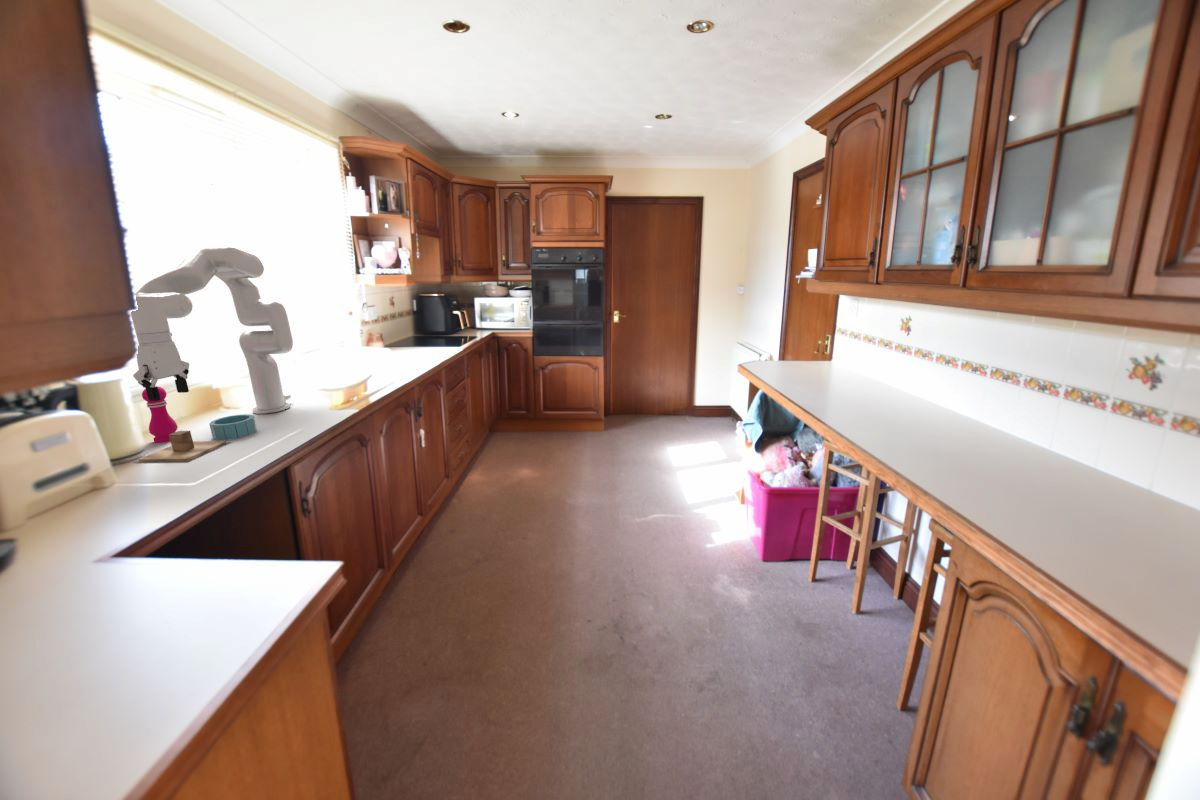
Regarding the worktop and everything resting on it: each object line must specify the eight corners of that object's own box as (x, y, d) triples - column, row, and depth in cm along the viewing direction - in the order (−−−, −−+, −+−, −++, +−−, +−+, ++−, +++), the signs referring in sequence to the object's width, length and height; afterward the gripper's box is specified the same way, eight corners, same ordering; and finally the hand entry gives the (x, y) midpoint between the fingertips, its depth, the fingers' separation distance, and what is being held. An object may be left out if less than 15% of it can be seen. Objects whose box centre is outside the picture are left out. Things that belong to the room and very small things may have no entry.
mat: (182, 444, 167) (181, 442, 167) (232, 443, 166) (231, 442, 166) (133, 464, 150) (132, 463, 150) (188, 464, 149) (187, 462, 149)
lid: (182, 444, 166) (177, 425, 164) (226, 443, 165) (222, 424, 163) (139, 461, 151) (133, 441, 150) (187, 461, 150) (182, 440, 149)
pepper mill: (156, 446, 166) (139, 385, 161) (149, 442, 170) (133, 383, 165) (183, 439, 171) (168, 381, 166) (176, 436, 176) (161, 378, 170)
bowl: (232, 429, 180) (228, 414, 179) (264, 429, 180) (261, 414, 178) (204, 441, 169) (200, 425, 167) (239, 441, 168) (235, 425, 167)
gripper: (168, 334, 157) (182, 389, 162) (113, 343, 141) (130, 404, 145) (191, 334, 157) (204, 389, 161) (139, 342, 140) (155, 403, 145)
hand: (169, 396), depth 153 cm, fingers open, 9 cm apart
